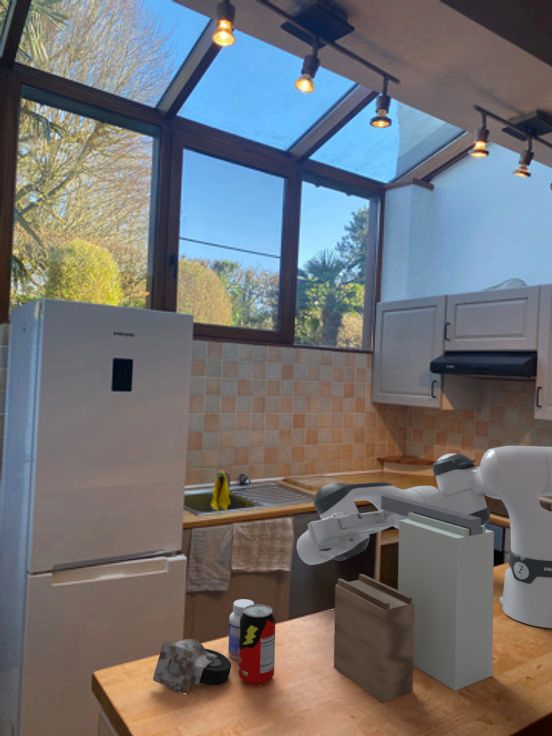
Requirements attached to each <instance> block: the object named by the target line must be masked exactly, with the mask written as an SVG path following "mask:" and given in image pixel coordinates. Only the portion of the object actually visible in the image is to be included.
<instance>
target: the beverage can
mask: <svg viewBox="0 0 552 736" xmlns="http://www.w3.org/2000/svg"><path fill="white" fill-rule="evenodd" d="M275 648H276V618H275V616H274V614H273V609H272V607H271V606H269V605H266V604H262V603H261V604H259V603H256V604H255V603H254V604H253V605H249V606H247V607H245V608H244V613H243V615H242V616H241V618H240V634H239V660H238V676H239V678H240V679H241V681H242V682H244V683H245V684H246V683H247V684H246V685H248V684H249V686H251V685H253V686H252V687H259V685H261V686H264V684H265V685H266V684H268V683H269V682H271V680H272V679H273V678H274V675H275V660H276V659H275V656H276V655H275V654H276V653H275V652H276V651H275V650H276V649H275ZM267 682H268V683H267Z"/></svg>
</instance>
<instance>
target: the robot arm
mask: <svg viewBox="0 0 552 736" xmlns="http://www.w3.org/2000/svg"><path fill="white" fill-rule="evenodd" d="M475 462H477V461H476V460H475V459H471V458H469V457H468V456H467V455H466V454H465V455H464V454H463V453H446V454H444V455H442V456H440V457H439V458H437V460H435V461H434V462H433V464H432V472H433V476H434V477H435V479H436V483H437V487H438V488H437V487H435V486H433V485H418V486H413V487H409V488H405V489H402V488H399V487H396V486H394V485H393V484H391V482H386V481H385V482H384V481H379V482H378V481H375V482H362V483H361V482H359V483H342V482H340V483H339V482H337V483H331V484H330V483H329V484H326V485H324V486H322V487H320V489H318V490H317V491H316V493H315V497H314V500H313V506H314V508H315V510H316V511H317V514H318V515H319V517H320V519H318V520H312V521H310V522H309V523H307V528H308V529H307V530H306V531H305V532H303V533H302V534H301V535H300V537H298V539H297V541H296V542H297V543H296V551H297V554H298V557H299V558H300V559H301V560H302V562H304V563H305V564H307V565H308V566H309V565H310V566H312V565H313V566H314V565H319V564H323V563H326V562H328V561H330V560H335V561H339V562H342V561H346V560H348V559H350V558H351V557H354V556H356V555H359V554H361V553H362V552H364V551H366V549H367V547H368V545H369V542H370V538H371V537H370V535H371V534H376V533H380V532H382V531H384V530H386V529H389V528H391V527H394V528H395V529H397V530H399V520H405V519H408V517H406V516H403V515H400V514H396V513H393V512H390V511H386V510H383V509H381V496H384V495H394V496H398V497H402V498H406V499H410V500H413V501H417V502H421V503H425V504H429V505H433V506H436V507H440V508H444V509H448V510H452V511H456V512H459V513H463V514H467V515H471V516H475V517H478V518H481V525H482V526H485V525H486V524H488V523H490V520H491V512H490V508H489V507H488V506H487V502H486V498H485V496H487V497H488V498H491V499H495V500H501V501H502V503H503V504H504V507H505V508H506V511H507V513H508V518H509V526H510V527H509V528H510V549H509V550H508V556H507V559H508V566H509V567H508V568H507V569H506V570H505V575H504V583H503V594H502V596H499V600H498V601H499V603H500V604H501V606H502V611H503V613H504V614H505V615H507V616H508V617H510V618H511V619H513V620H515V621H518V622H521V623H524V624H526V625H530V626H534V627H540V628H546V629H547V628H548V629H552V512H551V511H550V510H549V509H546V508H544V507H542V506H541V503H540V497H552V446H537V445H536V446H535V445H504V446H498V447H497V446H496V447H493V448H489V449H487V450H486V451H485V452H484V454H483V455H482V457H481V460H480V463H479V464H480V465H479V466H476V465H475ZM359 501H368V502H370V503H371V504H372V505H374V506H375V507H376V508H375V509H377V511H368V512H363V513H362V512H359V510H358V508H357V505H356V504H355V502H359Z"/></svg>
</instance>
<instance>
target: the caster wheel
mask: <svg viewBox="0 0 552 736" xmlns="http://www.w3.org/2000/svg"><path fill="white" fill-rule="evenodd" d="M231 671H232V662H231V661H230V659H229V658H228V657H226V656H225V655H224V654H223V653H220V652H218V651H217V650H212V649H210V648H205V647H204V645H203V644H202V643H201V642H200V641H199V640H197V639H194V638H185V639H182V640H179V641H176V642H175V643H171V642H168V641H166V640H163V642H162V646H161V649H160V652H159V655H158V659H157V663H156V666H155V669H154V673H153V676H152V680H153V681H154V682H156V683H158V684H160V685H162V686H164V687H166V688H168V689H170V690H173V691H175V692H177V693H179V692H181V693H186V694H187V695H188V693H189V688H190V685H191V683H192V684H194V685H205V686H211V687H216V686H217V687H218V686H219V687H220V686H221V685H225V684H226V683H227V682H228V680H229V677H230V674H231ZM181 693H180V694H181Z"/></svg>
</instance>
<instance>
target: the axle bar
mask: <svg viewBox="0 0 552 736" xmlns="http://www.w3.org/2000/svg"><path fill="white" fill-rule="evenodd" d="M381 509H383V510H386V511H390V512H393V513H396V514H400V515H403V516H406V517H408V513H415V514H418V515H421V516H425V517H428V518H432V519H435V520H439V521H442V522H446V523H449V524H453V525H456V526H460V527H463V528H467V529H469V535H470V536H473V535H478V534H481V518H478V517H475V516H471V515H467V514H463V513H459V512H456V511H452V510H448V509H444V508H440V507H436V506H433V505H429V504H425V503H421V502H417V501H413V500H410V499H406V498H402V497H398V496H394V495H384V496H381Z"/></svg>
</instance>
